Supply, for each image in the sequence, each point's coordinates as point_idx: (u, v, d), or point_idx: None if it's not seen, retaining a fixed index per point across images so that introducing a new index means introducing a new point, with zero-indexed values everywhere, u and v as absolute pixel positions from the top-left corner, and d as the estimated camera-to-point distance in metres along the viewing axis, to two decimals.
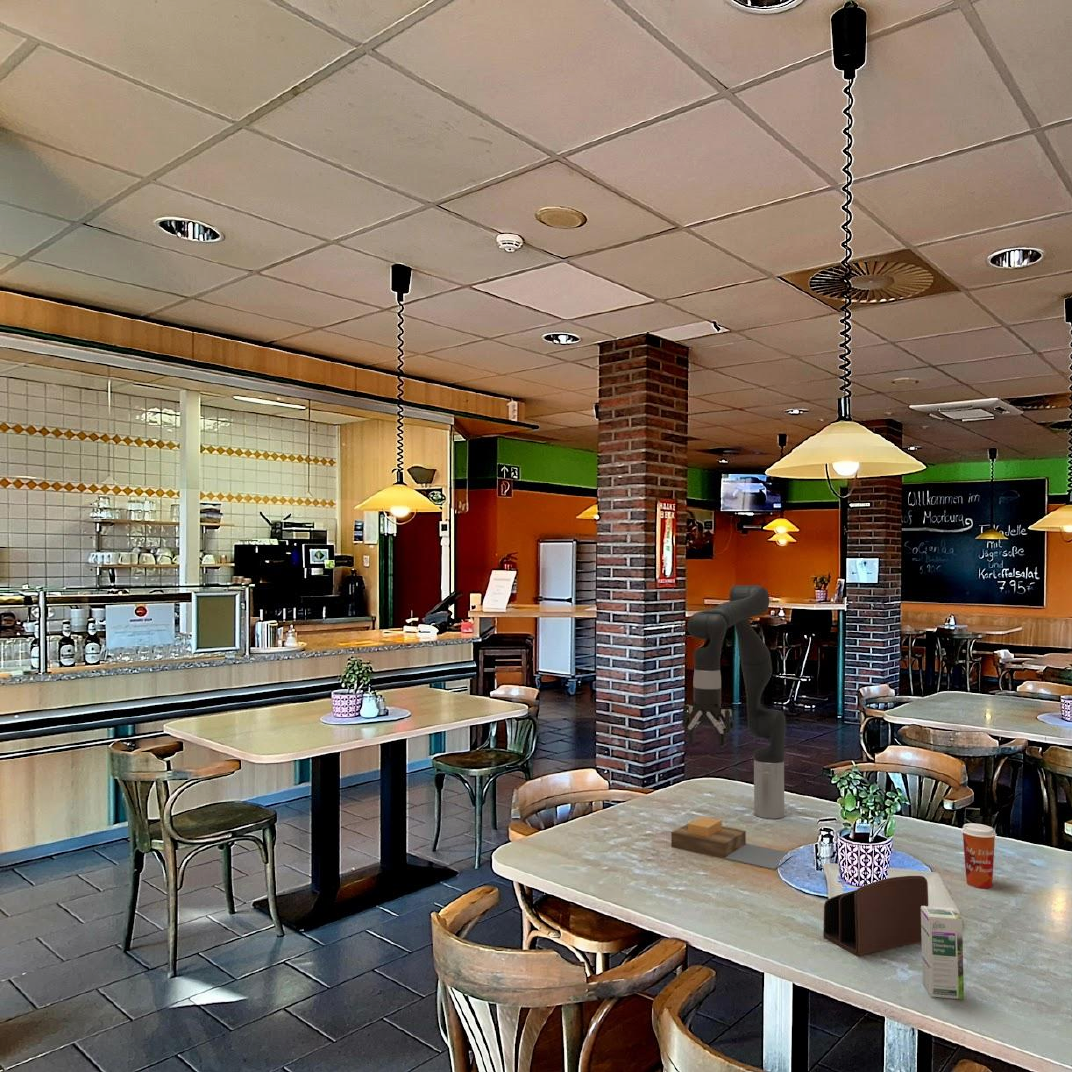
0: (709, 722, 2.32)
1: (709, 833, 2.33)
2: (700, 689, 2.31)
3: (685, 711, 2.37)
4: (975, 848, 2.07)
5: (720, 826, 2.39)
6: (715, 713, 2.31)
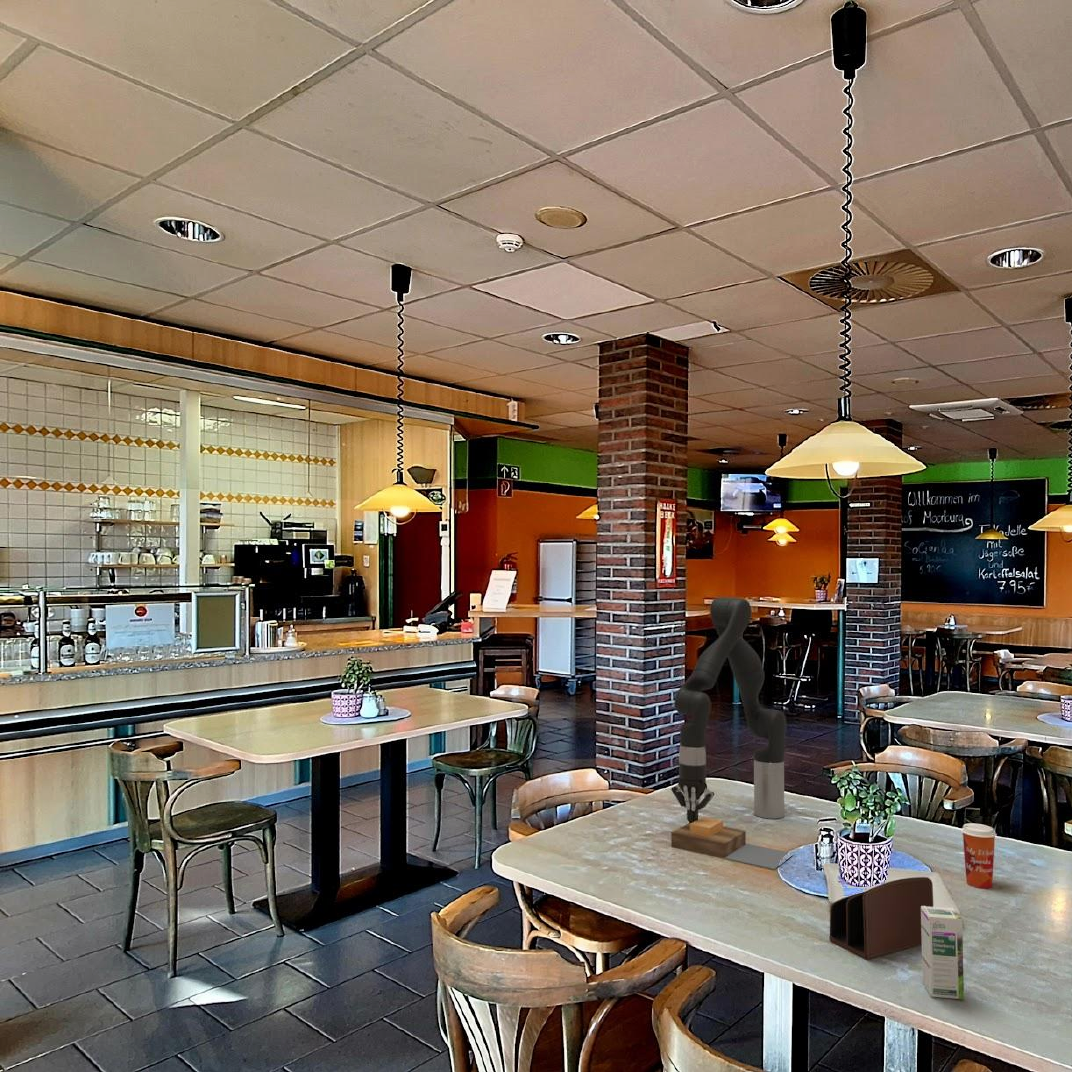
0: None
1: (710, 834, 2.33)
2: (685, 765, 2.39)
3: (675, 792, 2.43)
4: (975, 848, 2.07)
5: (721, 826, 2.39)
6: (699, 788, 2.39)
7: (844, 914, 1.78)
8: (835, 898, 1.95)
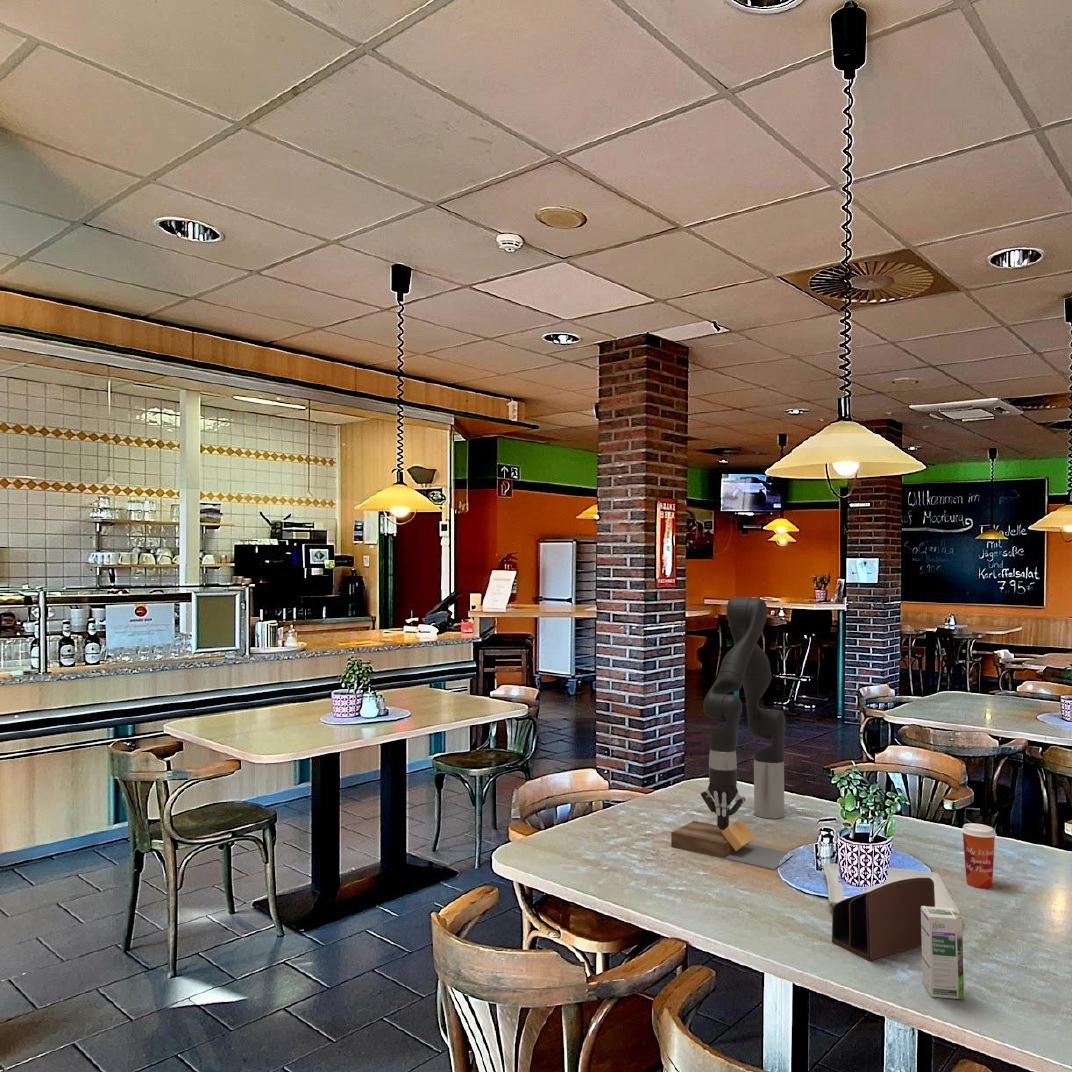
0: None
1: (738, 849, 2.28)
2: (716, 770, 2.33)
3: (705, 797, 2.37)
4: (975, 848, 2.07)
5: (750, 841, 2.34)
6: (730, 793, 2.33)
7: (846, 915, 1.77)
8: (835, 898, 1.95)
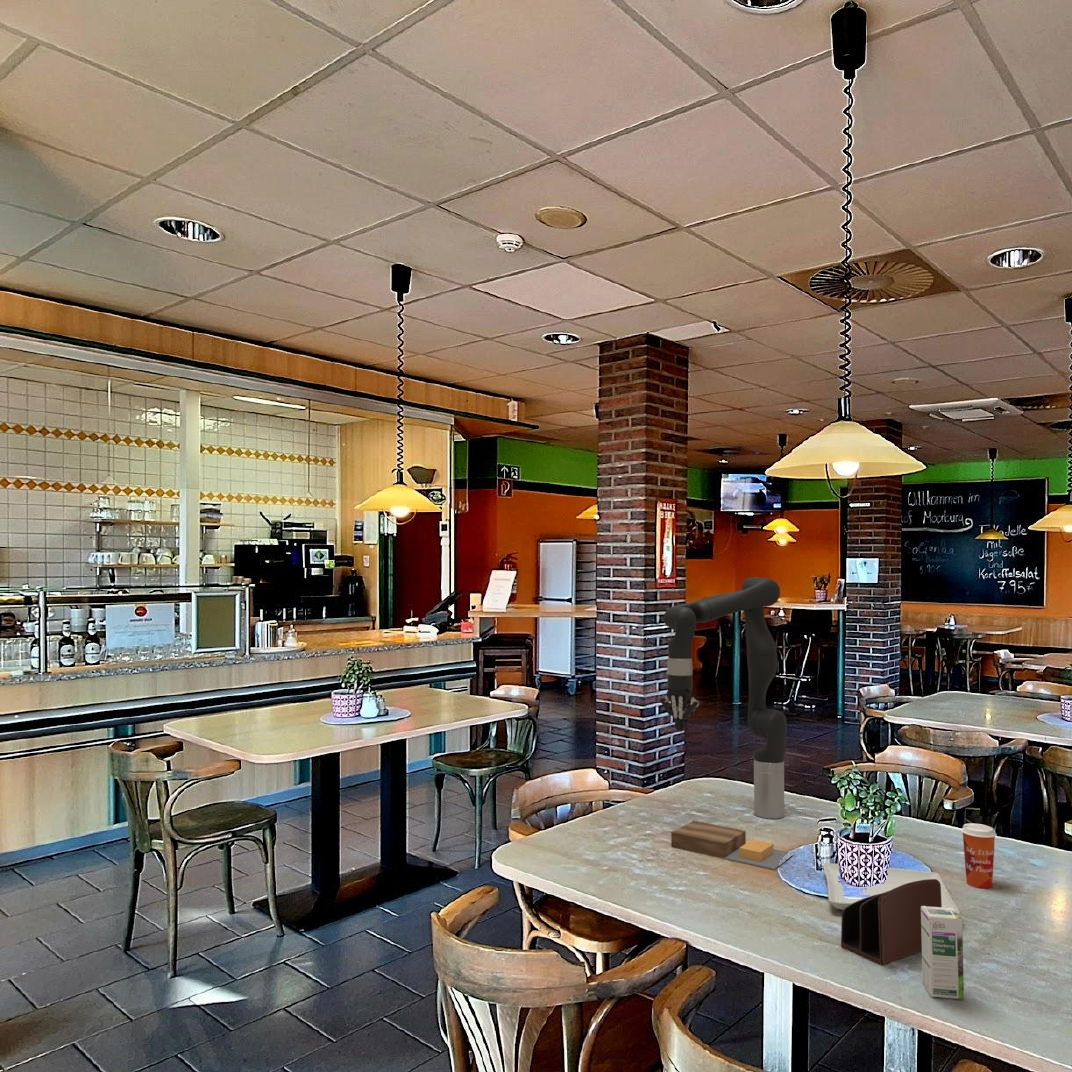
0: None
1: None
2: (673, 675, 2.53)
3: (664, 702, 2.57)
4: (975, 848, 2.07)
5: None
6: (686, 697, 2.53)
7: (855, 919, 1.75)
8: (835, 898, 1.95)
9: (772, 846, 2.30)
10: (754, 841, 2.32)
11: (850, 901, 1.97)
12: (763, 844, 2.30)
